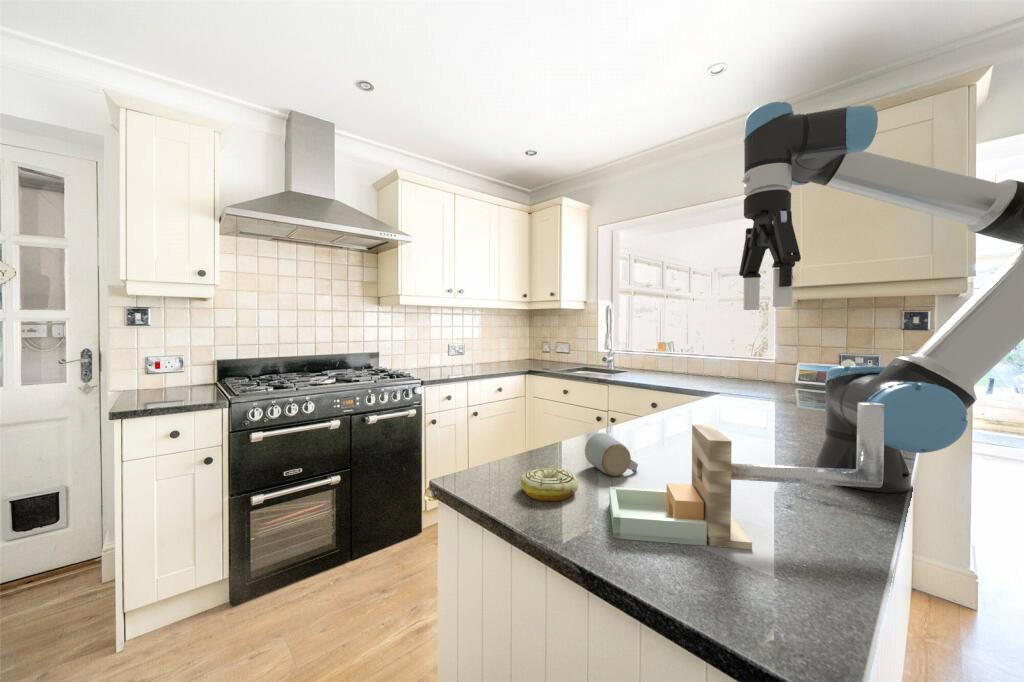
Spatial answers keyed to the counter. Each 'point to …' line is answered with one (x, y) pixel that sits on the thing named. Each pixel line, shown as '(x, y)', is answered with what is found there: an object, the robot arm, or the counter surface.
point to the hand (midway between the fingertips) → (765, 308)
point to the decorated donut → (549, 484)
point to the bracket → (715, 486)
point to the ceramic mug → (608, 455)
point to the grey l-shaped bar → (862, 476)
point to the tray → (651, 518)
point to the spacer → (684, 502)
